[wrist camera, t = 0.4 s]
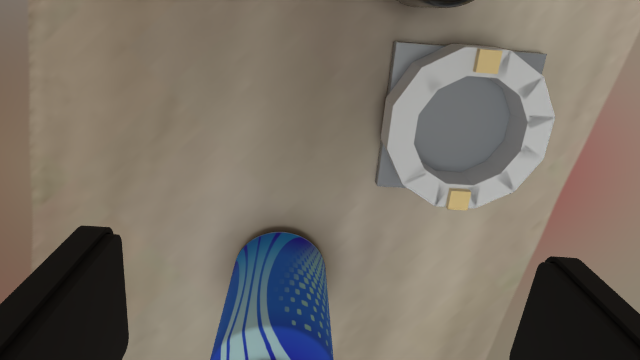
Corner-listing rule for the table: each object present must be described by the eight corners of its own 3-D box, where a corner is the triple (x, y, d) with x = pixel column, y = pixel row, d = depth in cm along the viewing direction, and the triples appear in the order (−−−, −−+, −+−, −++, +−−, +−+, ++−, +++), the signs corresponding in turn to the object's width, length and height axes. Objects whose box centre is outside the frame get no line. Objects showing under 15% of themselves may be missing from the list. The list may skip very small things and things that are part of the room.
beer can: (338, 281, 43) (357, 428, 28) (261, 312, 44) (240, 469, 29) (302, 211, 40) (302, 333, 25) (220, 245, 41) (174, 382, 26)
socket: (391, 37, 35) (403, 42, 30) (544, 49, 36) (577, 56, 31) (372, 184, 39) (380, 206, 35) (507, 192, 40) (532, 214, 36)
